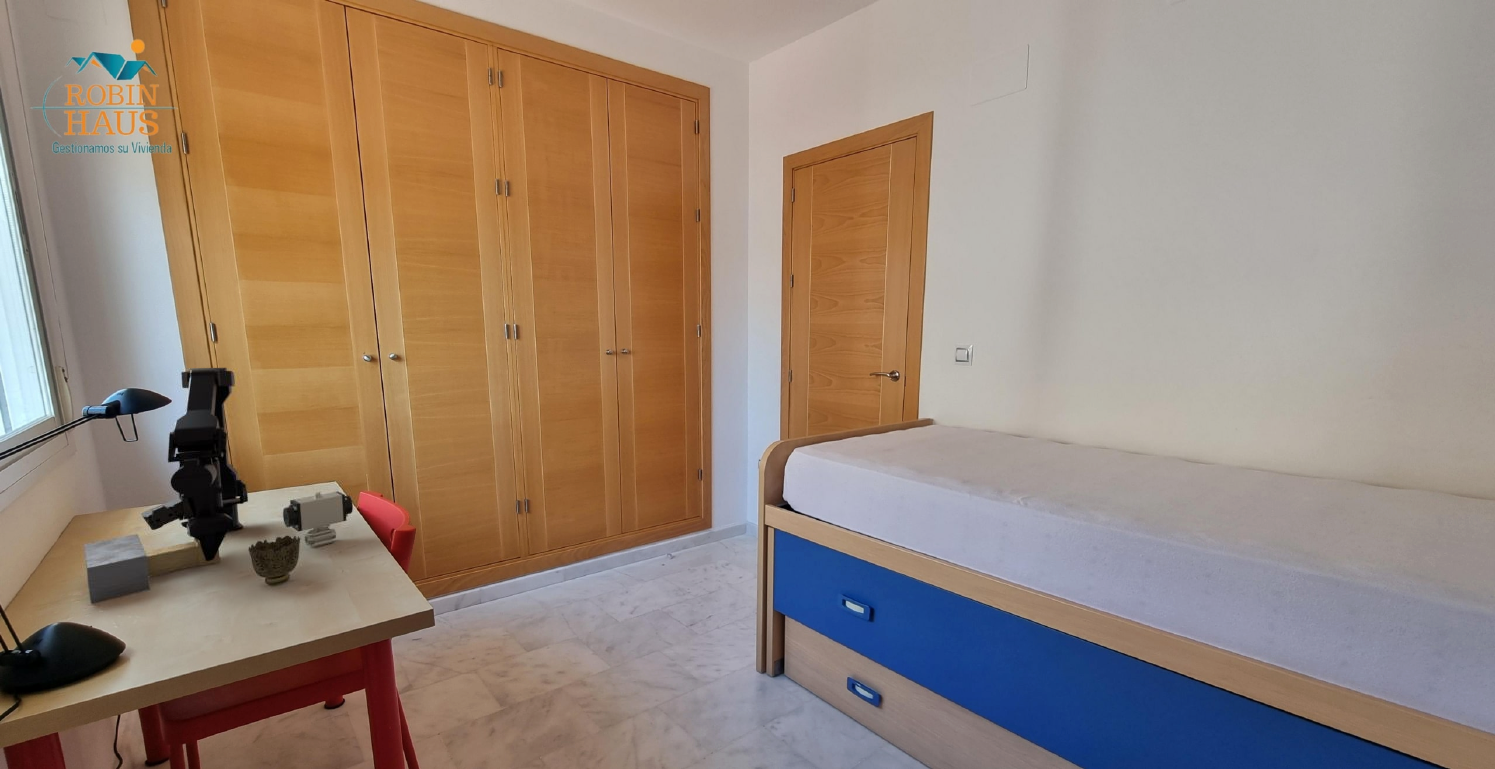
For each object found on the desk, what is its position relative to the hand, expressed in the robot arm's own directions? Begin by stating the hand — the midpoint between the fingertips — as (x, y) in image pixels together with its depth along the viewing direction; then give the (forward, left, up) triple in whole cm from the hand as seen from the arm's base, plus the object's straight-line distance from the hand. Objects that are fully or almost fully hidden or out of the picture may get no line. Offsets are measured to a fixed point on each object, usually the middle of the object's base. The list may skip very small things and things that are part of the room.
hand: (207, 557), depth 113 cm
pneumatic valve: (+6, +18, -1) cm, 19 cm away
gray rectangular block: (0, -12, -1) cm, 12 cm away
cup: (+24, +7, -1) cm, 25 cm away
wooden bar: (0, -6, -1) cm, 6 cm away
